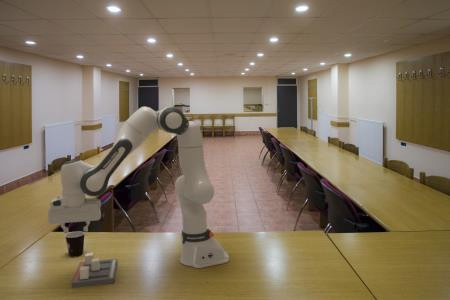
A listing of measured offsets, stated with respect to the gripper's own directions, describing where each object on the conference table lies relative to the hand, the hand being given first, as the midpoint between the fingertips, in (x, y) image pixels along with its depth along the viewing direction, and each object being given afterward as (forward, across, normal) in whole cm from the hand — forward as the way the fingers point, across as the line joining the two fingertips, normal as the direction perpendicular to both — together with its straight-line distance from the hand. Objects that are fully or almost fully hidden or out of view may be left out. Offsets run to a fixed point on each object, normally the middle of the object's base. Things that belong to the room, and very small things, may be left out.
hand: (76, 231), depth 151 cm
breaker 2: (+17, -4, -7) cm, 19 cm away
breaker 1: (+17, -4, +7) cm, 19 cm away
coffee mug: (+20, +5, -24) cm, 31 cm away
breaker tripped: (+17, -7, 0) cm, 18 cm away
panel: (+19, -7, 0) cm, 21 cm away
